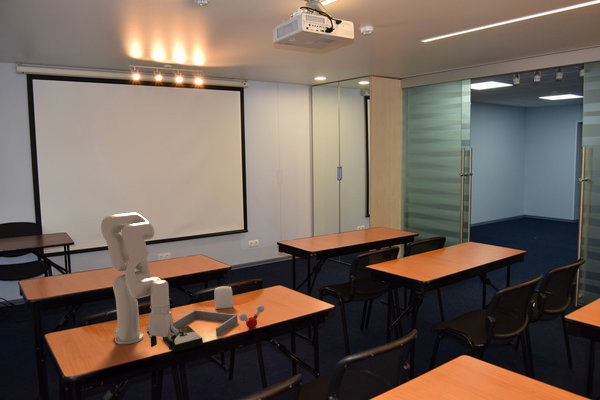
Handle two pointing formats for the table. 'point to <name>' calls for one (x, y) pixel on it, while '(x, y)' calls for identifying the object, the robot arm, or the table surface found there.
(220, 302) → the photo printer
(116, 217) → the robot arm
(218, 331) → the grey low wall frame
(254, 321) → the molecular model
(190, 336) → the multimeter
